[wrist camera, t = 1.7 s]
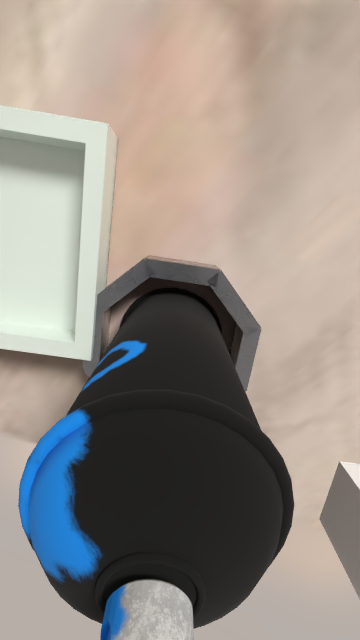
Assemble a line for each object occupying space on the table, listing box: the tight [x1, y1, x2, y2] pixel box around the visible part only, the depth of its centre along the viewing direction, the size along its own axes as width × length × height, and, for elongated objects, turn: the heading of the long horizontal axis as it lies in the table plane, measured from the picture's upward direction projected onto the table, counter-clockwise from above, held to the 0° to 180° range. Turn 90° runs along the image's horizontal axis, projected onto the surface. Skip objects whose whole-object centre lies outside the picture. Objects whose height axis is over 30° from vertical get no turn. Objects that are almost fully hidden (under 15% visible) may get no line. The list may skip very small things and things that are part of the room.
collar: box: [82, 256, 261, 391], centre depth 23 cm, size 12×12×2 cm
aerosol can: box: [18, 288, 294, 640], centre depth 14 cm, size 8×8×20 cm
